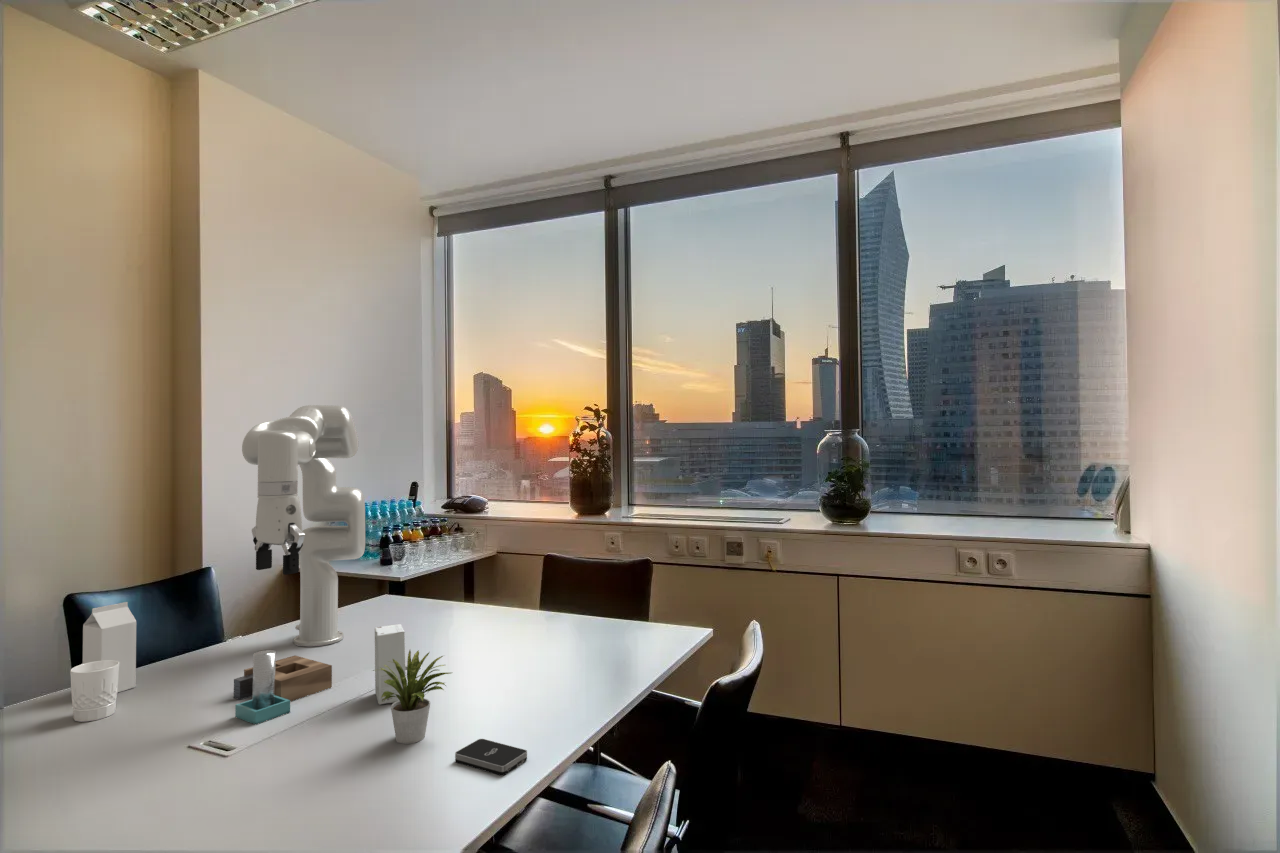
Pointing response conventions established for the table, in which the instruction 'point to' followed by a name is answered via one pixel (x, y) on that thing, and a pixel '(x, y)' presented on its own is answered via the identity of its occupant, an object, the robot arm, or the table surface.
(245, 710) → the tray
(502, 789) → the table surface
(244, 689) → the bar
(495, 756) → the external hard drive
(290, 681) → the socket block
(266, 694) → the peg
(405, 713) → the house plant
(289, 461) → the robot arm
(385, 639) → the skincare box
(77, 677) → the white cup
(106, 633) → the milk carton
